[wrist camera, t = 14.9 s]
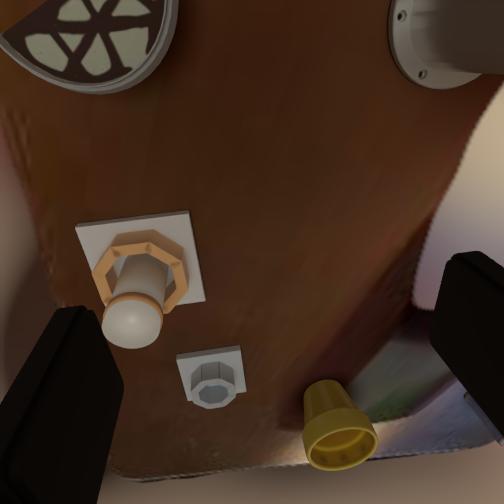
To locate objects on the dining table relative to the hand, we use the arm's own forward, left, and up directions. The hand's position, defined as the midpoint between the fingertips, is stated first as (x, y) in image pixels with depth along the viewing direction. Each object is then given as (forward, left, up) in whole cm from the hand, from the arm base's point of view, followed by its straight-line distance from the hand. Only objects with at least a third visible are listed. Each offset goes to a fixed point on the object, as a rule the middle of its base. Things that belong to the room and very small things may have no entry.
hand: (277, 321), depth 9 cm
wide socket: (+11, +14, -28) cm, 33 cm away
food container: (+7, -8, -28) cm, 30 cm away
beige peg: (+11, +14, -27) cm, 33 cm away
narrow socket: (+6, +34, -28) cm, 45 cm away
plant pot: (-11, +43, -28) cm, 53 cm away
